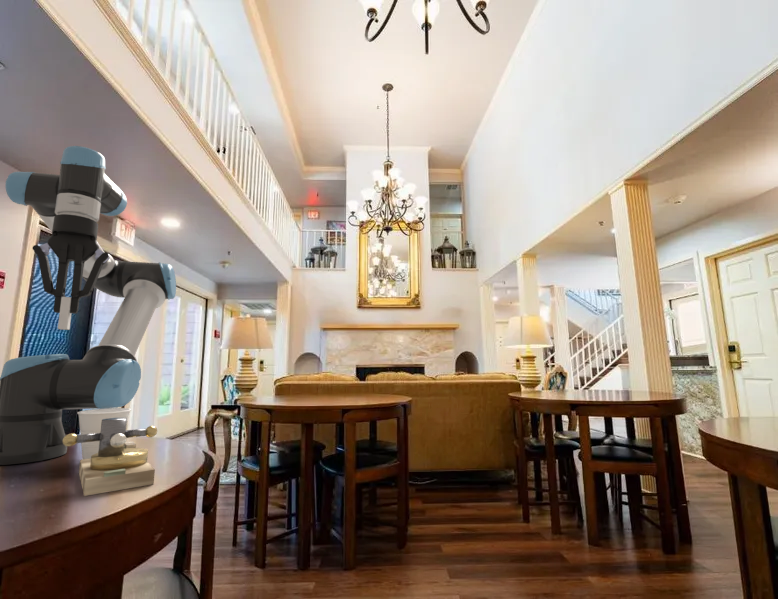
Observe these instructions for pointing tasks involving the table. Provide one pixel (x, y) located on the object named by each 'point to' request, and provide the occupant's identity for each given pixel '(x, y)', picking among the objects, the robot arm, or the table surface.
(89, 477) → the stand
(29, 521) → the table surface
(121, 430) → the capstan
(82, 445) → the cup
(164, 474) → the table surface
